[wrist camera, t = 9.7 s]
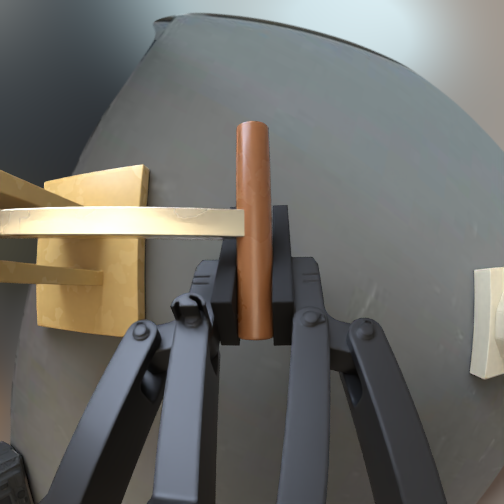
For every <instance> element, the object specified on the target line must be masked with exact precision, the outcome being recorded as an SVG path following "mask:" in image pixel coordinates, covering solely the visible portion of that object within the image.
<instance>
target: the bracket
mask: <svg viewBox="0 0 504 504" xmlns="http://www.w3.org/2000/svg"><path fill="white" fill-rule="evenodd" d="M148 181H149V169H148V168H147V167H146V166H144V165H135V166H128V167H122V168H115V169H109V170H103V171H97V172H92V173H86V174H81V175H76V176H71V177H66V178H61V179H56V180H52V181H47V182H45V184H44V189H43V188H40V187H38V186H36V185H34V184H31V183H29V182H27V181H24V180H22V179H20V178H17V177H15V176H13V175H11V174H8V173H6V172H4V171H2V170H0V210H2V209H25V208H55V207H147V194H148ZM144 275H145V239H85V238H38V247H37V264H29V263H21V262H12V261H4V260H0V282H3V283H26V284H36V295H37V322H38V326H43V327H49V328H56V329H62V330H69V331H76V332H83V333H91V334H99V335H107V336H117V337H124V335H125V333H126V331H127V329H128V328H129V327H130V326H131V324H133V323H135V322H136V321H139V320H142V319H143V320H145V282H144Z"/></svg>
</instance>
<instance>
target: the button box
mask: <svg viewBox="0 0 504 504" xmlns="http://www.w3.org/2000/svg"><path fill="white" fill-rule="evenodd" d="M474 284H475V307H474V333H473V346H472V357H471V366H470V373H471V374H473V375H475V376H478V377H480V378H482V379H488V378H491V377H494V376H498V375H501V374H504V267H497V268H486V269H476V270H474Z"/></svg>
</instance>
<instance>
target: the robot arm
mask: <svg viewBox="0 0 504 504" xmlns="http://www.w3.org/2000/svg"><path fill="white" fill-rule="evenodd" d="M230 209H236V207H230ZM170 307H171V309H172V312H173V314H174V317H175V319H176V320H174V321H172V322H169V323H165V324H161V325H155V324H154V322H152V321H150V320H143V319H142V320H139V321H136V322H135V323H133V324H131V326H130V327H129V328H128V329H127V331H126V333H125V335H124V337H123V338H122V340H121V342H120V344H119V346H118V347H117V349H116V351H115V353H114V355H113V357H112V358H111V360H110V362H109V364H108V366H107V368H106V370H105V372H104V374H103V375H102V377H101V379H100V381H99V383H98V385H97V387H96V389H95V391H94V393H93V395H92V397H91V399H90V401H89V403H88V405H87V407H86V409H85V411H84V413H83V415H82V417H81V419H80V421H79V423H78V426H77V428H76V430H75V432H74V434H73V436H72V438H71V441H70V443H69V445H68V447H67V449H66V452H65V454H64V456H63V458H62V461H61V463H60V465H59V468H58V470H57V472H56V475H55V477H54V480H53V482H52V485H51V487H50V489H49V492H48V494H47V495H46V496H45V497H44V498H43V499H42V500H41V501H40V502H39V503H38V504H121V503H122V500H123V497H124V495H125V492H126V489H127V487H128V484H129V482H130V479H131V476H132V474H133V471H134V469H135V466H136V463H137V461H138V458H139V456H140V453H141V451H142V448H143V446H144V443H145V441H146V438H147V436H148V433H149V431H150V428H151V426H152V423H153V421H154V418H155V416H156V413H157V411H158V408H159V406H160V404H161V401H162V399H163V405H162V412H161V420H160V428H159V436H158V445H157V454H156V464H155V474H154V486H153V495H152V497H151V499H150V500H149V501H148V502H147V504H215V496H216V451H217V420H218V394H219V372H220V352H219V342H220V341H221V345H240V338H239V337H238V324H237V249H236V240H223V243H222V248H221V253H220V257H219V260H202V261H201V263H200V264H199V265H198V266H197V267H196V270H195V274H194V278H193V281H192V285H191V288H190V292H189V293H185V294H182V295H180V296H178V297H177V298H176V299H175V300H174V301H173V302H172V304H171V306H170ZM272 314H273V338H274V346H277V345H291V361H290V375H289V388H288V400H287V412H286V423H285V433H284V443H283V453H282V462H281V471H280V479H279V487H278V495H277V503H276V504H326V497H327V483H328V466H329V443H330V370H335V371H339V375H340V378H341V381H342V384H343V388H344V391H345V394H346V397H347V401H348V404H349V408H350V411H351V414H352V418H353V421H354V425H355V428H356V432H357V435H358V439H359V443H360V446H361V450H362V453H363V457H364V461H365V465H366V468H367V472H368V476H369V480H370V484H371V488H372V492H373V496H374V500H375V504H447V502H446V498H445V494H444V491H443V487H442V484H441V481H440V477H439V474H438V471H437V467H436V464H435V461H434V458H433V455H432V452H431V449H430V446H429V443H428V440H427V437H426V435H425V432H424V429H423V426H422V423H421V421H420V418H419V415H418V413H417V410H416V407H415V405H414V402H413V400H412V397H411V395H410V392H409V389H408V387H407V385H406V382H405V380H404V377H403V375H402V372H401V370H400V368H399V365H398V363H397V361H396V358H395V356H394V354H393V351H392V349H391V347H390V345H389V342H388V340H387V338H386V336H385V334H384V331H383V329H382V327H381V326H380V325H379V323H377V322H376V321H374V320H373V319H369V318H359V319H357V320H354V321H353V322H352V323H351V324H350V323H345V322H341V321H338V320H335V319H334V318H332V317H331V316H330V315H329V314H328V313H327V312H326V310H325V307H324V300H323V293H322V286H321V280H320V275H319V267H318V264H317V262H316V261H315V260H314V258H313V257H291V247H290V233H289V220H288V207H287V205H279V206H273V262H272ZM163 396H164V398H163Z"/></svg>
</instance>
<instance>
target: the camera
mask: <svg viewBox="0 0 504 504" xmlns="http://www.w3.org/2000/svg"><path fill="white" fill-rule="evenodd" d="M0 504H33V500H32V497H31V493H30V490H29V486H28V482H27V477H26V474H25V470H24V466H23V461H22V457H21V455H19V454H18V453H17V452H15V451H14V449H13V447H12V446H10V445H9V444H7V443H5V442H3V441H1V442H0Z"/></svg>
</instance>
